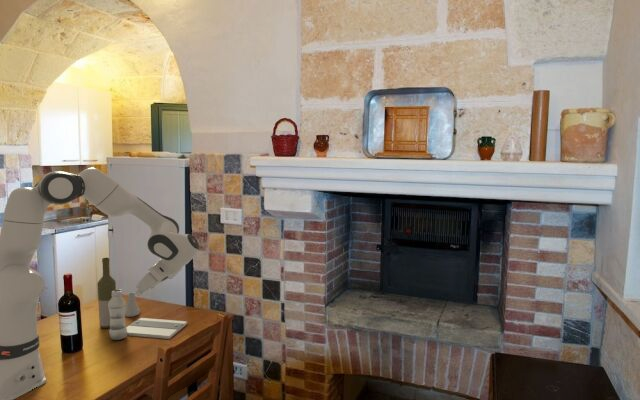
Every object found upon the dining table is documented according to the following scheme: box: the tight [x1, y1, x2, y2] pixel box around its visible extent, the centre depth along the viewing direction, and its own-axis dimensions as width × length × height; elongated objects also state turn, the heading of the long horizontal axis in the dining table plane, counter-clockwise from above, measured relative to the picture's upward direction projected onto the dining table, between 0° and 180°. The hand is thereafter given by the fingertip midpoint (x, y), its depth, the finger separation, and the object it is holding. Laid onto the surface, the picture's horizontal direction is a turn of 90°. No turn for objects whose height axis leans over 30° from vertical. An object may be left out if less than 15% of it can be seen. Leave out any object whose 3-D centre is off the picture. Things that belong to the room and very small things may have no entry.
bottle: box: [96, 257, 117, 329], centre depth 191 cm, size 7×7×30 cm
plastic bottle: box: [108, 289, 128, 341], centre depth 179 cm, size 6×7×20 cm
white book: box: [126, 317, 188, 340], centre depth 190 cm, size 16×22×2 cm
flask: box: [125, 292, 141, 318], centre depth 206 cm, size 7×7×10 cm
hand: (144, 290), depth 176 cm, fingers open, 8 cm apart
